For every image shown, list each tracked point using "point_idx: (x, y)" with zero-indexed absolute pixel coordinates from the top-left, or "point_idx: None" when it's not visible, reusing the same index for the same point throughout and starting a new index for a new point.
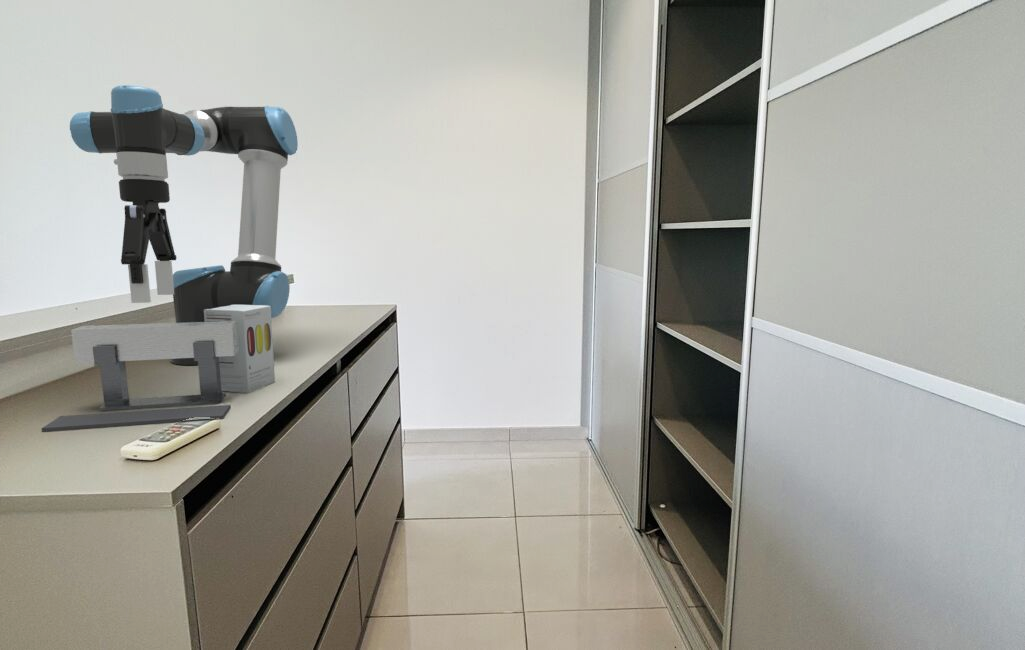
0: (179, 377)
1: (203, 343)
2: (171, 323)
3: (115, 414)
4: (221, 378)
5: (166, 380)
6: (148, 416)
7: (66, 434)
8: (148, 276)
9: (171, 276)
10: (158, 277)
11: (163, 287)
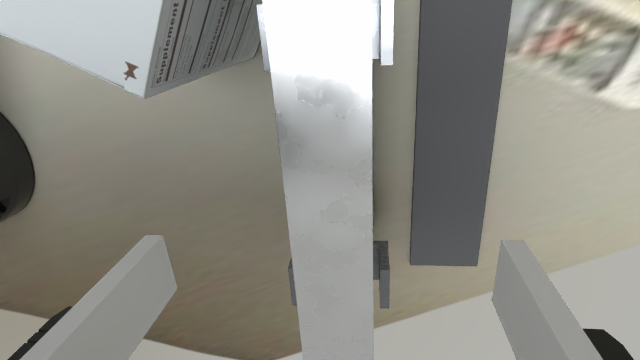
0: (135, 160)
1: (393, 26)
2: (294, 172)
3: (428, 185)
4: (258, 22)
5: (160, 178)
6: (464, 120)
7: (505, 224)
8: (558, 339)
9: (107, 296)
10: (128, 344)
11: (152, 290)
